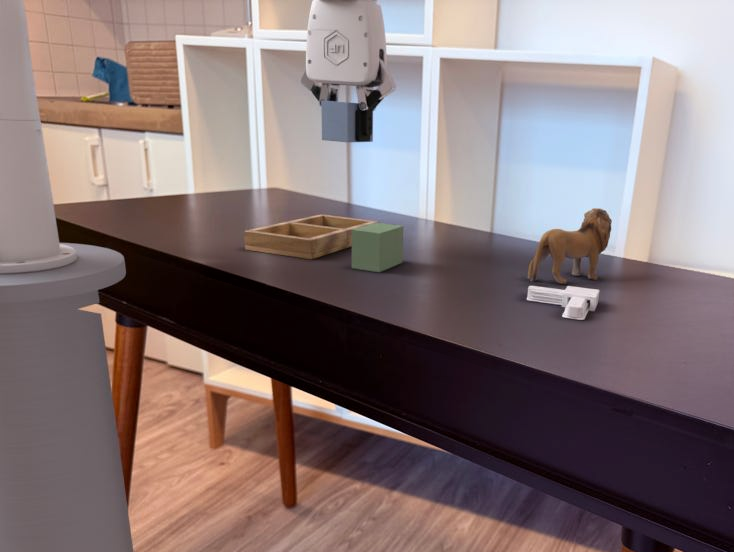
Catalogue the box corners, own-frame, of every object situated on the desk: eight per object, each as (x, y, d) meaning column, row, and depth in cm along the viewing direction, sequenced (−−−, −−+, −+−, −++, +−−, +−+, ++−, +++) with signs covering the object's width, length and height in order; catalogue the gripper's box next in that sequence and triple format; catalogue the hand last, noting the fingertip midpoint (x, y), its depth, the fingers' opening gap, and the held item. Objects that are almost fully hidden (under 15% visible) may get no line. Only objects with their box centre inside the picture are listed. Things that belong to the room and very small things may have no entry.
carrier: (311, 259, 89) (311, 240, 88) (245, 249, 92) (244, 230, 91) (379, 237, 107) (379, 221, 106) (321, 230, 109) (321, 214, 109)
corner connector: (516, 311, 72) (517, 296, 71) (530, 294, 79) (532, 281, 79) (589, 321, 70) (591, 306, 70) (597, 303, 77) (599, 289, 77)
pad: (379, 272, 84) (380, 233, 83) (351, 268, 85) (351, 229, 84) (402, 262, 91) (403, 225, 89) (376, 258, 92) (376, 222, 90)
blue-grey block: (347, 142, 88) (347, 102, 87) (321, 140, 90) (321, 100, 88) (372, 141, 95) (373, 104, 93) (348, 139, 96) (348, 102, 94)
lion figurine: (583, 268, 95) (591, 205, 92) (614, 276, 92) (623, 210, 88) (515, 281, 85) (521, 210, 82) (548, 290, 81) (555, 216, 78)
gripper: (275, -16, 85) (280, 135, 91) (393, -14, 80) (389, 145, 86) (308, -5, 92) (310, 135, 98) (418, -3, 87) (414, 144, 93)
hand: (347, 138), depth 92 cm, fingers closed on blue-grey block, 4 cm apart
